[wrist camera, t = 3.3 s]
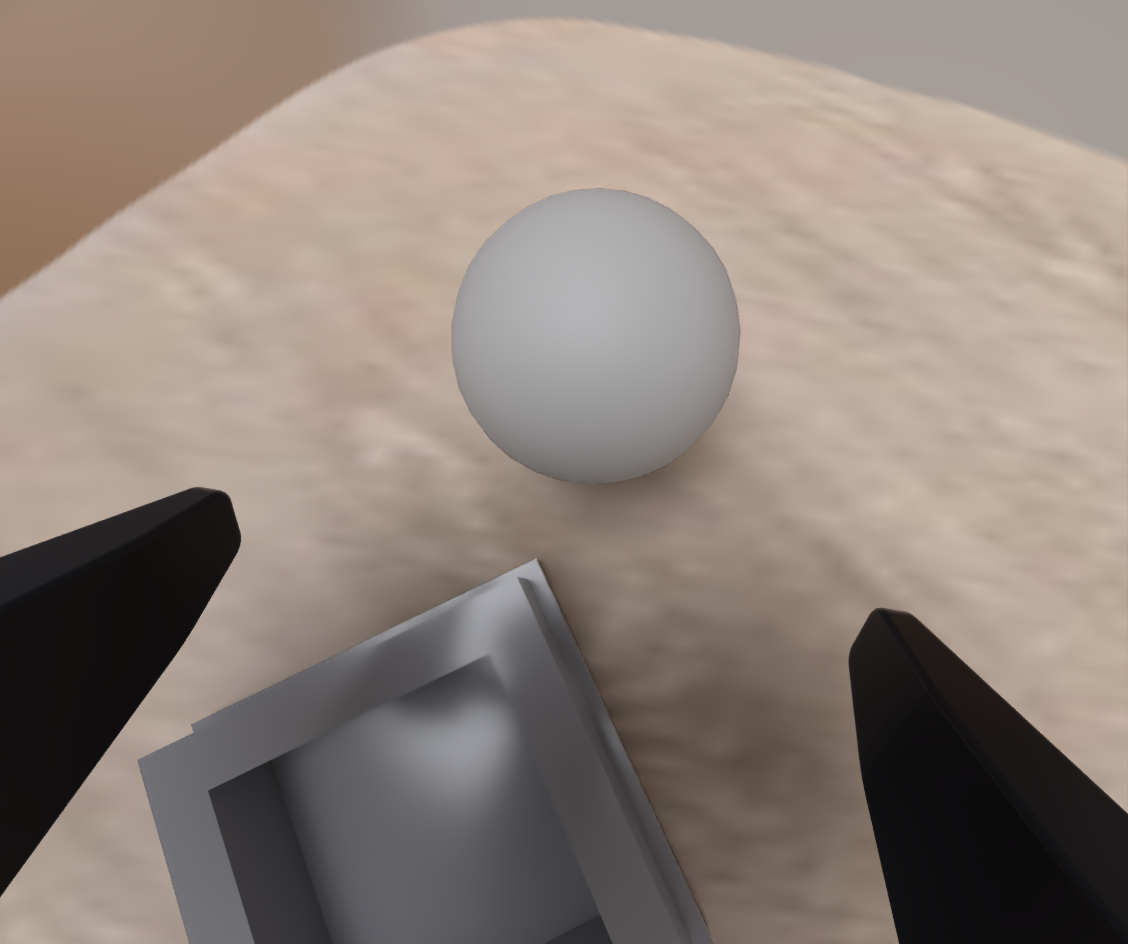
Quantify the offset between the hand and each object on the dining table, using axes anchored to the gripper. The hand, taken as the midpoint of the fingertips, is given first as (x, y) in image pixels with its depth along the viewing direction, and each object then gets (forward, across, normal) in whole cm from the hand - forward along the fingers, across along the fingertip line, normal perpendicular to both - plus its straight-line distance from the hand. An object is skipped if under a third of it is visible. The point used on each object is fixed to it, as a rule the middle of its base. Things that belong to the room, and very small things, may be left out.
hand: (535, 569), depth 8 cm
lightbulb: (+12, 0, +5) cm, 13 cm away
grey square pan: (0, 0, +16) cm, 16 cm away
